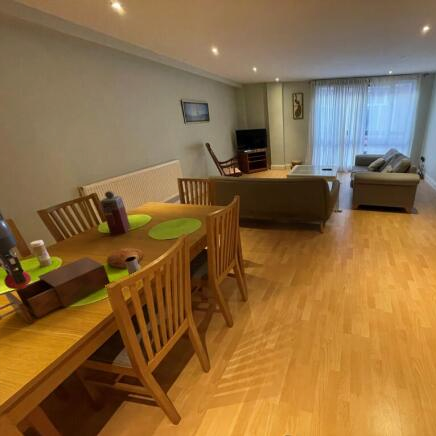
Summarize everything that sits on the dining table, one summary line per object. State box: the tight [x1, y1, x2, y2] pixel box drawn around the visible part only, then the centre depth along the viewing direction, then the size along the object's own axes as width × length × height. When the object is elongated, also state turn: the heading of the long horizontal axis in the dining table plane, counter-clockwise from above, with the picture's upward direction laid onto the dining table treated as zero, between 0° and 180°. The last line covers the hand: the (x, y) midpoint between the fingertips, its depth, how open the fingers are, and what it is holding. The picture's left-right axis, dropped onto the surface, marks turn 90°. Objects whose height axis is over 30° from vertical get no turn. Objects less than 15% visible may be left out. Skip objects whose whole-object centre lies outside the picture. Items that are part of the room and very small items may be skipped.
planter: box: [125, 257, 141, 276], centre depth 111 cm, size 4×4×10 cm
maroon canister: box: [99, 190, 131, 235], centre depth 154 cm, size 9×11×28 cm
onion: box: [3, 268, 32, 290], centre depth 80 cm, size 6×6×8 cm
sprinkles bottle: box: [29, 239, 53, 268], centre depth 121 cm, size 5×5×13 cm
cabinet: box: [37, 256, 111, 309], centre depth 102 cm, size 17×15×11 cm
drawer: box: [0, 279, 62, 325], centre depth 92 cm, size 21×14×9 cm, turn 152°
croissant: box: [106, 247, 143, 269], centre depth 125 cm, size 14×16×8 cm
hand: (18, 280), depth 80 cm, fingers closed on onion, 5 cm apart
